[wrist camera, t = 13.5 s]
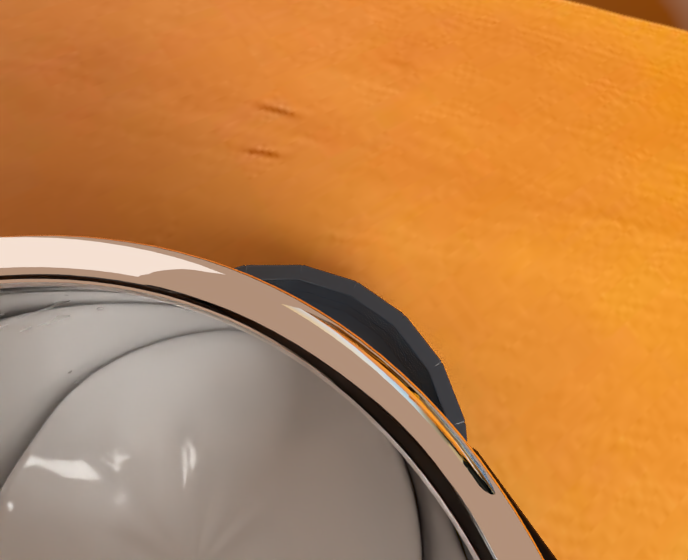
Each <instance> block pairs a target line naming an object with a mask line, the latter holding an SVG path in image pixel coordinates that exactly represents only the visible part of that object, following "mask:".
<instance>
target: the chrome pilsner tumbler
mask: <svg viewBox="0 0 688 560" xmlns="http://www.w3.org/2000/svg"><path fill="white" fill-rule="evenodd" d="M0 560H544V558H543V556H542V555H541V553H540V551H539V549H538V547H537V545H536V544H535V542H534V540H533V538H532V537H531V535H530V533H529V532H528V530H527V528H526V527H525V525H524V523H523V522H522V520H521V518H520V516H519V515H518V513H517V512H516V510H515V508H514V507H513V505H512V504H511V502H510V501H509V499H508V498H507V496H506V495H505V493H504V492H503V490H502V489H501V487H500V486H499V484H498V483H497V481H496V480H495V479H494V477H493V476H492V474H491V473H490V472H489V470H488V469H487V468H486V466H485V465H484V463H483V462H482V461H481V459H480V458H479V457H478V455H477V454H476V453H475V452H474V450H473V449H472V448H471V446H470V445H469V444H468V443H467V441H466V440H465V439H464V438H463V436H462V435H461V434H460V433H459V431H458V430H457V429H456V428H455V427H454V426H453V425H452V423H451V422H450V421H449V420H448V419H447V418H446V417H445V415H444V414H443V413H442V412H441V411H440V410H439V409H438V408H437V407H436V406H435V405H434V404H433V403H432V401H431V400H430V399H429V398H428V397H427V396H426V395H425V394H424V393H423V392H422V391H421V390H420V389H419V388H418V387H417V386H416V385H415V384H414V383H413V382H412V381H411V380H410V379H408V378H407V377H406V376H405V375H404V374H403V373H402V372H401V371H400V370H399V369H398V368H396V367H395V366H394V365H393V364H392V363H391V362H389V361H388V360H387V359H386V358H385V357H384V356H382V355H381V354H380V353H379V352H377V351H376V350H375V349H374V348H372V347H371V346H370V345H369V344H367V343H366V342H365V341H364V340H362V339H361V338H360V337H358V336H357V335H356V334H354V333H353V332H351V331H350V330H349V329H347V328H346V327H344V326H343V325H342V324H340V323H339V322H337V321H335V320H334V319H332V318H331V317H329V316H328V315H326V314H325V313H323V312H321V311H320V310H318V309H316V308H315V307H313V306H311V305H310V304H308V303H306V302H304V301H303V300H301V299H299V298H298V297H296V296H294V295H292V294H290V293H288V292H286V291H284V290H282V289H280V288H278V287H276V286H274V285H272V284H269V283H267V282H265V281H263V280H261V279H258V278H256V277H254V276H252V275H249V274H247V273H244V272H242V271H239V270H237V269H234V268H232V267H229V266H226V265H223V264H220V263H217V262H214V261H211V260H208V259H205V258H201V257H198V256H194V255H191V254H187V253H184V252H180V251H176V250H171V249H167V248H163V247H159V246H154V245H148V244H143V243H137V242H131V241H124V240H116V239H109V238H98V237H88V236H71V235H20V236H2V237H0Z"/></svg>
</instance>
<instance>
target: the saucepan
mask: <svg viewBox="0 0 688 560" xmlns="http://www.w3.org/2000/svg"><path fill="white" fill-rule="evenodd" d="M234 269H237V270H239V271H242V272H244V273H247V274H249V275H252V276H254V277H256V278H258V279H261V280H263V281H265V282H267V283H269V284H272V285H274V286H276V287H278V288H280V289H282V290H284V291H286V292H288V293H290V294H292V295H294V296H296V297H298V298H299V299H301V300H303V301H304V302H306V303H308V304H310V305H311V306H313V307H315V308H316V309H318V310H320V311H321V312H323V313H325V314H326V315H328V316H329V317H331V318H332V319H334V320H335V321H337V322H339V323H340V324H342V325H343V326H344V327H346V328H347V329H349V330H350V331H351V332H353V333H354V334H356V335H357V336H358V337H360V338H361V339H362V340H364V341H365V342H366V343H367V344H369V345H370V346H371V347H372V348H374V349H375V350H376V351H377V352H379V353H380V354H381V355H382V356H384V357H385V358H386V359H387V360H388V361H389V362H391V363H392V364H393V365H394V366H395V367H396V368H398V369H399V370H400V371H401V372H402V373H403V374H404V375H405V376H406V377H407V378H408V379H410V380H411V381H412V382H413V383H414V384H415V385H416V386H417V387H418V388H419V389H420V390H421V391H422V392H423V393H424V394H425V395H426V396H427V397H428V398H429V399H430V400H431V401H432V403H433V404H434V405H435V406H436V407H437V408H438V409H439V410H440V411H441V412H442V413H443V414H444V415H445V417H446V418H447V419H448V420H449V421H450V422H451V423H452V425H453V426H454V427H455V428H456V429H457V430H458V431H459V433H460V434H461V435H462V436H463V438H464V439H465V440H466V441H467V434H466V424H465V419H464V417H463V414H462V412H461V409H460V407H459V404H458V401H457V399H456V396H455V394H454V391H453V389H452V386H451V384H450V381H449V378H448V376H447V373H446V371H445V368H444V366H443V364H442V363H441V360H440V359H439V358H438V356H437V355H436V354H435V352H434V351H433V350H432V349H431V347H430V346H429V345H428V344H427V342H426V341H425V340H424V338H423V337H422V336H421V335H420V333H419V332H418V331H417V330H416V328H415V327H414V326H413V324H412V323H411V322H410V321H409V319H408V318H407V317H406V316H405V315H404V314H403V313H402V312H400V311H399V310H397V309H396V308H395V307H393V306H392V305H390V304H389V303H387V302H386V301H384V300H383V299H381V298H380V297H379V296H377V295H376V294H374V293H373V292H371V291H370V290H368V289H367V288H366V287H364V286H363V285H361V284H360V283H357V282H356V281H354V280H351V279H347V278H344V277H341V276H338V275H334V274H331V273H328V272H325V271H322V270H318V269H315V268H312V267H309V266H305V265H303V266H302V265H246V266H245V265H243V266H240V267H236V268H234Z"/></svg>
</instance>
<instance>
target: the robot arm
mask: <svg viewBox="0 0 688 560" xmlns="http://www.w3.org/2000/svg"><path fill="white" fill-rule="evenodd" d="M472 449H473V450H474V452H475V453H476V454H477V455H478V457H479V458H480V459H481V461H482V462H483V463H484V465H485V466H486V468H487V469H488V470H489V472H490V473H491V474H492V476H493V477H494V479H495V480H496V481H497V483H498V484H499V486H500V487H501V489H502V490H503V492H504V493H505V495H506V496H507V498H508V499H509V501H510V502H511V504H512V505H513V507H514V508H515V510H516V512H517V513H518V515H519V516H520V518H521V520H522V522H523V523H524V525H525V527H526V528H527V530H528V532H529V533H530V535H531V537H532V538H533V540H534V542H535V544H536V545H537V547H538V549H539V551H540V553H541V555H542V556H543V558H544V560H557V559H556V558H555V556H554V555H553V554H552V552H551V551H550V549H549V548H548V547H547V545H546V544H545V543H544V541H543V540H542V539H541V537H540V536H539V534H538V533H537V532H536V530H535V529H534V528H533V526H532V525H531V524H530V522H529V521H528V519H527V518H526V517H525V515H524V514H523V513H522V511H521V510H520V509H519V507H518V506H517V504H516V503H515V502H514V500H513V499H512V498H511V496H510V495H509V494H508V492H507V491H506V489H505V488H504V487H503V485H502V484H501V483H500V481H499V480H498V479H497V477H496V476H495V474H494V473H493V472H492V470H491V469H490V468H489V466H488V465H487V464H486V462H485V461H484V459H483V458H482V457H481V455H480V454H479V453H478V451H477V450H475V449H474V448H472Z"/></svg>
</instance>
